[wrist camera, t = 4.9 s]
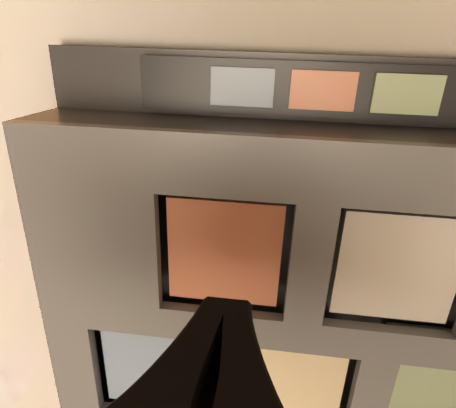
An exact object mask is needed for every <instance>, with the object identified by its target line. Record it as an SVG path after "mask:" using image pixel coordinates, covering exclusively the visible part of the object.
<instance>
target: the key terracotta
mask: <svg viewBox="0 0 456 408" xmlns="http://www.w3.org/2000/svg"><path fill="white" fill-rule="evenodd" d="M166 210H167V237H168V265H169V292H170V296H176V297H186V298H196V299H205V298H206V297H207V296H209V297H219V298H229V299H239V300H248V301H249V302H250V303H251V304H255V305H265V306H274V307H276V303H277V294H278V284H279V274H280V264H281V254H282V244H283V235H284V225H285V215H286V204H280V203H267V202H253V201H240V200H226V199H213V198H199V197H186V196H173V195H167V197H166Z"/></svg>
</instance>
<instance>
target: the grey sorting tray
mask: <svg viewBox="0 0 456 408" xmlns="http://www.w3.org/2000/svg"><path fill="white" fill-rule="evenodd" d="M49 52H50V59H51V66H52V73H53V80H54V86H55V93H56V100H57V107H58V108H55V109H51V110H47V111H43V112H39V113H35V114H31V115H28V116H24V117H20V118H16V119H12V120H8V121H4V122H2V124H3V129H4V134H5V139H6V144H7V149H8V154H9V158H10V163H11V168H12V173H13V178H14V183H15V188H16V192H17V197H18V202H19V207H20V212H21V217H22V222H23V226H24V231H25V236H26V241H27V246H28V251H29V256H30V260H31V265H32V270H33V275H34V280H35V285H36V290H37V294H38V299H39V304H40V309H41V314H42V319H43V324H44V329H45V333H46V338H47V343H48V348H49V353H50V358H51V363H52V367H53V372H54V377H55V382H56V387H57V392H58V397H59V401H60V406H61V408H106V407H107V406H109V405H110V404H111V403H112V402H113V401H114V400H116V399H113V398H109V393H108V386H107V378H106V370H105V363H104V355H103V347H102V340H101V332H100V331H108V332H117V333H126V334H135V335H143V336H152V337H161V338H170V339H175V338H176V337H177V336H178V335H179V333H180V332H181V331H182V330H183V328H184V327H185V326H186V324H187V323H188V322H189V320H190V319H191V318H192V316H193V315H194V313H195V312H196V311H197V309H198V307H199V306H200V304H201V303H202V301H203V299H196V298H186V297H176V296H170V292H169V265H168V237H167V210H166V197H167V195H173V196H186V197H199V198H213V199H226V200H240V201H253V202H267V203H280V204H286V215H285V225H284V235H283V244H282V254H281V264H280V274H279V284H278V294H277V303H276V307H274V306H265V305H255V304H252V305H251V310H252V318H253V324H254V328H255V332H256V336H257V340H258V343H259V346H260V349H267V350H276V351H284V352H293V353H302V354H311V355H320V356H329V357H337V358H346V359H349V364H348V369H347V374H346V378H345V383H344V388H343V393H342V397H341V402H340V407H339V408H388V407H389V403H390V400H391V396H392V393H393V389H394V385H395V382H396V378H397V375H398V371H399V368H400V365H408V366H417V367H425V368H434V369H443V370H452V371H456V293H455V296H454V299H453V302H452V305H451V308H450V311H449V314H448V317H447V320H446V323H445V324H441V323H432V322H422V321H412V320H402V319H392V318H382V317H373V316H363V315H353V314H343V313H333V312H329V309H328V304H327V293H328V287H329V281H330V275H331V269H332V263H333V257H334V251H335V245H336V239H337V232H338V226H339V220H340V214H341V208H347V209H361V210H374V211H387V212H401V213H414V214H428V215H441V216H455V217H456V59H449V58H421V57H392V56H363V55H334V54H305V53H276V52H247V51H218V50H189V49H161V48H132V47H103V46H74V45H49ZM386 322H394V323H404V324H414V325H424V326H433V327H443V328H452V331H448V330H438V329H429V328H419V327H409V326H400V325H390V324H386Z"/></svg>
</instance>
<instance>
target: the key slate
mask: <svg viewBox="0 0 456 408" xmlns="http://www.w3.org/2000/svg"><path fill="white" fill-rule="evenodd" d="M100 332H101V340H102V347H103V355H104V363H105V370H106V378H107V386H108V393H109V398H113V399H117V398H118V397H119V396H120V395H121V394H123V393H124V392H125V391H126V390H127V389H128V388H129V387H130V386H131V385H132V384H133V383H135V382H136V381H137V380H138V379H139V378H140V377H141V376H142V375H143V374H144V373H145V372H146V371H147V370H148V369H149V368H150V367H151V366H152V364H153V363H154V362H155V361H156V360H157V359H158V358H159V357H160V356H161V355H162V353H163V352H164V351H165V350H166V349H167V348H168V347H169V346H170V344H171V343H172V342H173V341H174V340H175V339H170V338H161V337H152V336H143V335H135V334H126V333H117V332H108V331H100Z"/></svg>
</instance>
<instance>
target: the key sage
mask: <svg viewBox="0 0 456 408" xmlns="http://www.w3.org/2000/svg"><path fill="white" fill-rule="evenodd" d="M386 324H390V325H400V326H409V327H419V328H429V329H438V330H448V331H452V328H443V327H433V326H424V325H414V324H404V323H394V322H386ZM388 408H456V371H452V370H443V369H434V368H425V367H417V366H408V365H400V368H399V371H398V375H397V378H396V382H395V385H394V389H393V393H392V396H391V400H390V403H389V407H388Z"/></svg>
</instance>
